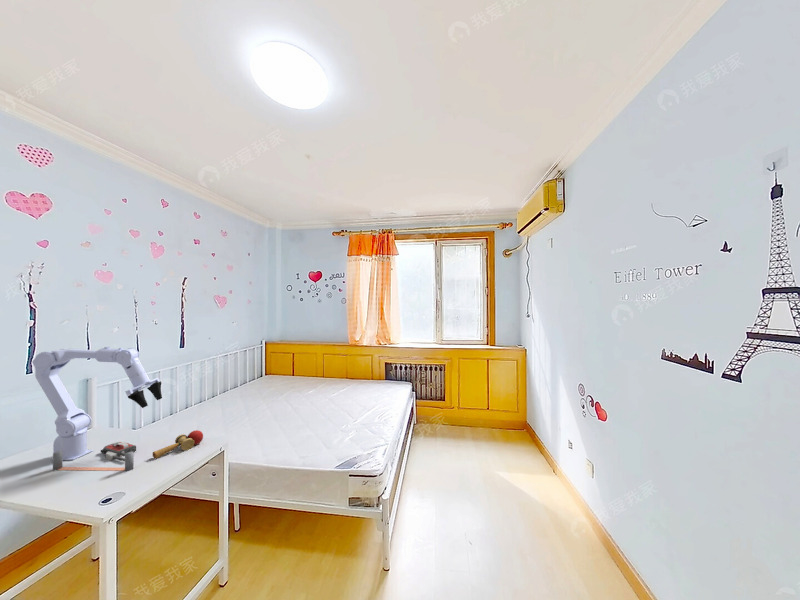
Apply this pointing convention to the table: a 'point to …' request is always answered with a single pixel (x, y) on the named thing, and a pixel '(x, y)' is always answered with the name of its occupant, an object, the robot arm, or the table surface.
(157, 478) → the table surface
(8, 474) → the table surface
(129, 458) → the finish line
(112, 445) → the walkie-talkie
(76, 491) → the table surface
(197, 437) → the kendama
